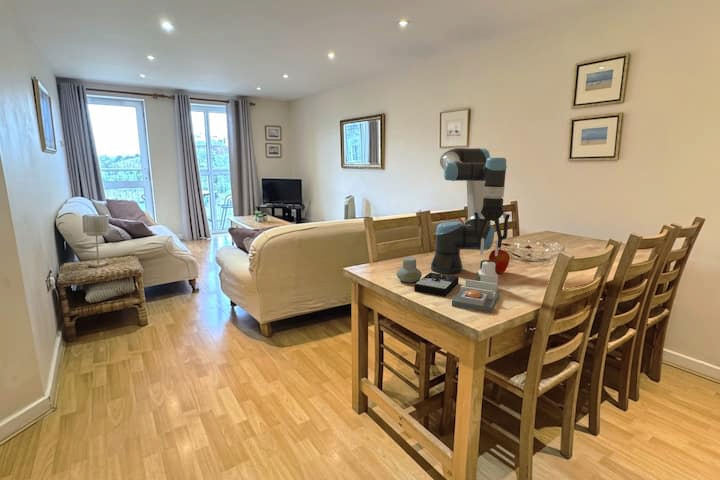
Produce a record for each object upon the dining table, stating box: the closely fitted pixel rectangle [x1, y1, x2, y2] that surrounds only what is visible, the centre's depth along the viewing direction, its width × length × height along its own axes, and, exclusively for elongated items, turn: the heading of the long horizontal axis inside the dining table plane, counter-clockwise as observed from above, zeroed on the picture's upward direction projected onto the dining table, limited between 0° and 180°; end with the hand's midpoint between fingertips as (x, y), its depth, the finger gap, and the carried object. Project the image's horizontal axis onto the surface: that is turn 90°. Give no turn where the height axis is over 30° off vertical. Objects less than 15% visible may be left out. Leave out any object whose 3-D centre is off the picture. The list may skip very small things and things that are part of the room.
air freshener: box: [396, 257, 422, 284], centre depth 165 cm, size 11×8×10 cm
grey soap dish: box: [451, 278, 500, 314], centre depth 142 cm, size 14×19×5 cm
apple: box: [488, 248, 511, 274], centre depth 178 cm, size 9×9×12 cm
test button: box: [467, 290, 481, 299], centre depth 137 cm, size 5×5×2 cm
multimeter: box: [413, 272, 460, 298], centre depth 157 cm, size 13×19×5 cm
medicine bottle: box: [476, 259, 499, 284], centre depth 155 cm, size 7×7×12 cm
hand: (488, 254), depth 153 cm, fingers open, 5 cm apart
